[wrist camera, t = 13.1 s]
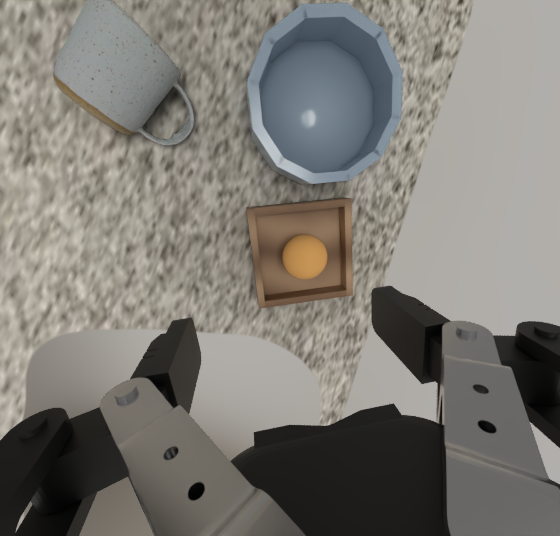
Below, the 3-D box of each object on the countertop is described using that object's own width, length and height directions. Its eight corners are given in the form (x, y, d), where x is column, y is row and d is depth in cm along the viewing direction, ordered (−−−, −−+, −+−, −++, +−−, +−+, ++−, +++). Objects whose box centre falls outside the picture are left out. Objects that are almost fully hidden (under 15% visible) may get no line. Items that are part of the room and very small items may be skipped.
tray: (246, 207, 32) (246, 209, 29) (342, 197, 34) (351, 198, 31) (257, 298, 36) (259, 308, 33) (344, 287, 37) (352, 295, 34)
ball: (277, 233, 33) (284, 242, 28) (319, 229, 33) (332, 236, 28) (281, 273, 34) (288, 288, 29) (321, 268, 35) (334, 282, 30)
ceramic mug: (77, 94, 27) (17, 61, 20) (121, 22, 26) (75, -41, 19) (170, 166, 30) (148, 160, 23) (213, 104, 29) (204, 77, 22)
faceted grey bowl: (239, 37, 28) (239, 5, 23) (378, 32, 29) (405, 1, 24) (256, 189, 32) (259, 189, 27) (376, 177, 33) (398, 175, 29)
